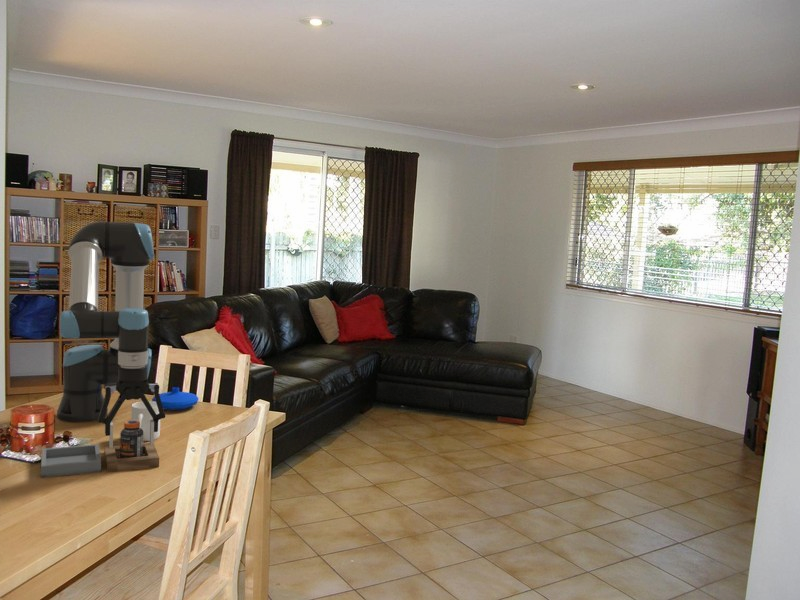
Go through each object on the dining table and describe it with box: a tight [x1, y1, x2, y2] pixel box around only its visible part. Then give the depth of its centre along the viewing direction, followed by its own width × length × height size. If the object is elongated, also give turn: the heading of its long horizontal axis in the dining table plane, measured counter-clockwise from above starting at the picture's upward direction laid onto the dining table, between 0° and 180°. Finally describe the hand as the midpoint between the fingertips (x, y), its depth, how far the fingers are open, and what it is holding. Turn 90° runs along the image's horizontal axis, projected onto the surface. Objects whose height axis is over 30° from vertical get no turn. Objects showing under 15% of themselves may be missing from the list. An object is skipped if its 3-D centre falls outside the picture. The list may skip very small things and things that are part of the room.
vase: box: [151, 386, 199, 411], centre depth 242 cm, size 16×16×7 cm
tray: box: [40, 443, 102, 479], centre depth 182 cm, size 14×14×3 cm
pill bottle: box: [119, 419, 144, 459], centre depth 188 cm, size 6×6×11 cm
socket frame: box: [104, 442, 160, 473], centre depth 190 cm, size 16×13×2 cm
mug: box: [130, 400, 161, 442], centre depth 206 cm, size 12×8×10 cm
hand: (131, 444), depth 188 cm, fingers open, 10 cm apart
